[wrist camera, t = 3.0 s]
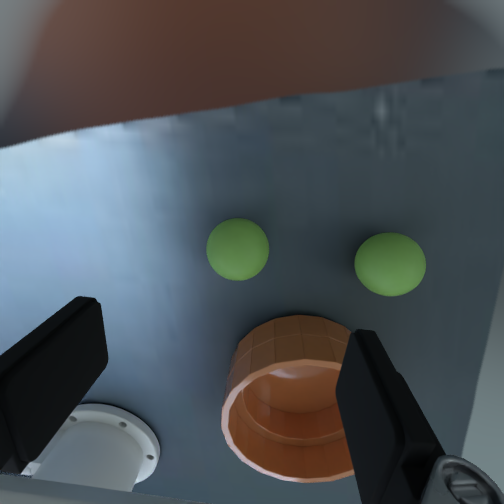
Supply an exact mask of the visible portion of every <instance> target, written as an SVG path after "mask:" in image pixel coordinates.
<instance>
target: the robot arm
mask: <svg viewBox="0 0 504 504" xmlns="http://www.w3.org/2000/svg"><path fill="white" fill-rule="evenodd" d="M107 363H108V351H107V344H106V337H105V330H104V323H103V316H102V309H101V304H100V303H99V302H97V300H96V299H95V298H91V297H83V296H78V297H76V298H74V299H73V300H72V301H70V302H69V303H68V304H67V305H65V306H64V307H63V308H61V309H60V310H59V311H57V312H56V313H55V314H54V315H52V316H51V317H50V318H48V319H47V320H46V321H44V322H43V323H42V324H41V325H39V326H38V327H37V328H35V329H34V330H33V331H32V332H30V333H29V334H28V335H26V336H25V337H24V338H22V339H21V340H20V341H19V342H17V343H16V344H15V345H13V346H12V347H11V348H10V349H8V350H7V351H6V352H4V353H3V354H2V355H0V470H2V472H8V473H15V474H23V475H33V476H32V478H26V477H18V476H11V475H3V474H0V504H209V503H203V502H196V501H189V500H182V499H175V498H168V497H161V496H154V495H147V494H140V493H133V492H131V491H132V489H133V486H134V484H135V483H138V482H140V481H143V480H144V479H146V478H147V477H149V476H150V475H151V474H152V473H153V471H154V470H155V468H156V465H157V462H158V459H159V456H160V446H159V443H158V440H157V438H156V436H155V434H154V433H153V431H152V430H151V429H150V428H149V426H148V425H146V424H145V423H144V422H143V421H142V420H141V419H139V418H138V417H136V416H135V415H133V414H131V413H129V412H127V411H125V410H123V409H120V408H117V407H114V406H110V405H105V404H92V403H91V404H81V405H78V404H79V402H80V401H81V400H82V398H83V397H84V396H85V394H86V393H87V392H88V390H89V389H90V388H91V386H92V385H93V384H94V382H95V381H96V380H97V378H98V377H99V376H100V374H101V373H102V372H103V370H104V369H105V368H106V366H107ZM335 394H336V400H337V404H338V408H339V412H340V416H341V420H342V424H343V428H344V432H345V436H346V440H347V444H348V448H349V453H350V457H351V461H352V465H353V469H354V473H355V477H356V481H357V485H358V489H359V493H360V497H361V501H362V504H504V494H503V493H502V491H501V490H500V488H499V487H498V486H497V484H496V483H495V482H494V481H493V480H492V479H491V478H490V477H489V476H488V475H487V474H486V473H485V472H483V471H482V470H481V469H480V468H478V467H477V466H476V465H474V464H473V463H471V462H469V461H467V460H465V459H464V458H461V457H458V456H455V455H446V453H445V452H444V450H443V448H442V446H441V444H440V443H439V441H438V439H437V437H436V435H435V434H434V432H433V430H432V428H431V426H430V425H429V423H428V421H427V419H426V417H425V416H424V414H423V412H422V410H421V408H420V407H419V405H418V403H417V401H416V399H415V398H414V396H413V394H412V392H411V391H410V389H409V387H408V385H407V383H406V382H405V380H404V378H403V377H402V375H401V374H400V373H398V372H397V371H396V369H395V368H394V366H393V364H392V362H391V360H390V358H389V356H388V355H387V353H386V351H385V349H384V347H383V345H382V344H381V342H380V340H379V338H378V336H377V334H376V333H375V331H372V330H363V329H357V330H356V331H355V333H354V332H352V333H351V334H350V336H349V340H348V344H347V347H346V351H345V355H344V358H343V362H342V366H341V369H340V373H339V377H338V380H337V384H336V390H335Z"/></svg>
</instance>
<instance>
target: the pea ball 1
mask: <svg viewBox="0 0 504 504" xmlns="http://www.w3.org/2000/svg"><path fill="white" fill-rule="evenodd" d="M206 251H207V257H208V260H209V263H210V265H211V266H212V268H213V269H214V270H215V271H216V272H217V273H218V274H219V275H221V276H222V277H224V278H226V279H229V280H235V281H240V280H246V279H249V278H251V277H253V276H255V275H256V274H258V273H259V272H260V271H261V270H262V269H263V267H264V266H265V264H266V262H267V259H268V255H269V244H268V239H267V237H266V235H265V233H264V232H263V230H262V229H261V228H260V227H259V226H258V225H257V224H255V223H254V222H252V221H250V220H247V219H243V218H233V219H228V220H226V221H223V222H222V223H220V224H219V225H217V226H216V227H215V228H214V230H213V231H212V232H211V234H210V236H209V238H208V241H207V248H206Z"/></svg>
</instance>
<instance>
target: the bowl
mask: <svg viewBox="0 0 504 504" xmlns="http://www.w3.org/2000/svg"><path fill="white" fill-rule="evenodd" d="M351 333H352V332H351V331H349V330H348V329H347V328H346V327H344V326H343V325H340V324H338V323H335V322H333V321H330V320H328V319H325V318H322V317H316V316H307V315H293V316H287V317H281V318H275V319H273V320H270V321H268V322H266V323H264V324H262V325H260V326H258V327H256V328H255V329H253V330H252V331H251V332H250V333H249V334H248V335H246V336H245V337H244V338H243V339H242V340H241V341H240V342H239V344H238V346H237V348H236V350H235V352H234V354H233V356H232V358H231V363H230V368H229V373H228V379H227V384H226V389H225V395H224V400H223V405H222V416H221V429H222V431H223V434H224V436H225V439H226V442H227V444H228V446H229V447H230V448H231V449H232V450H233V452H234V453H235V454H236V455H237V456H238V457H239V458H240V460H242V461H243V462H244V463H246V464H248V465H249V466H251V467H252V468H254V469H255V470H257V471H259V472H261V473H263V474H266V475H269V476H272V477H275V478H278V479H281V480H286V481H294V482H302V483H314V482H327V481H334V480H337V479H341V478H344V477H347V476H351V475H354V474H355V473H354V469H353V465H352V461H351V457H350V453H349V448H348V444H347V440H346V436H345V432H344V428H343V424H342V420H341V416H340V412H339V408H338V404H337V400H336V394H335V390H336V384H337V380H338V377H339V373H340V369H341V366H342V362H343V358H344V355H345V351H346V347H347V344H348V340H349V336H350V334H351Z"/></svg>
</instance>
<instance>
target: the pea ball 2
mask: <svg viewBox="0 0 504 504" xmlns="http://www.w3.org/2000/svg"><path fill="white" fill-rule="evenodd" d="M425 270H426V260H425V256H424V254H423V251H422V250H421V248H420V247H419V245H418V244H417V243H416V242H415V241H413V240H412V239H411V238H409V237H407V236H405V235H402V234H399V233H393V232H387V233H380V234H377V235H374V236H372V237H370V238H369V239H367V240H366V241H365V242H364V243H363V244H362V245H361V246H360V248H359V249H358V251H357V253H356V256H355V271H356V274H357V276H358V278H359V280H360V281H361V283H362V284H363V285H364V286H365V287H366V288H368V289H369V290H371V291H372V292H374V293H377V294H380V295H384V296H398V295H402V294H405V293H407V292H409V291H411V290H413V289H414V288H415V287H416V286H417V285H418V284H419V283H420V282H421V280H422V278H423V276H424V274H425Z"/></svg>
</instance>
